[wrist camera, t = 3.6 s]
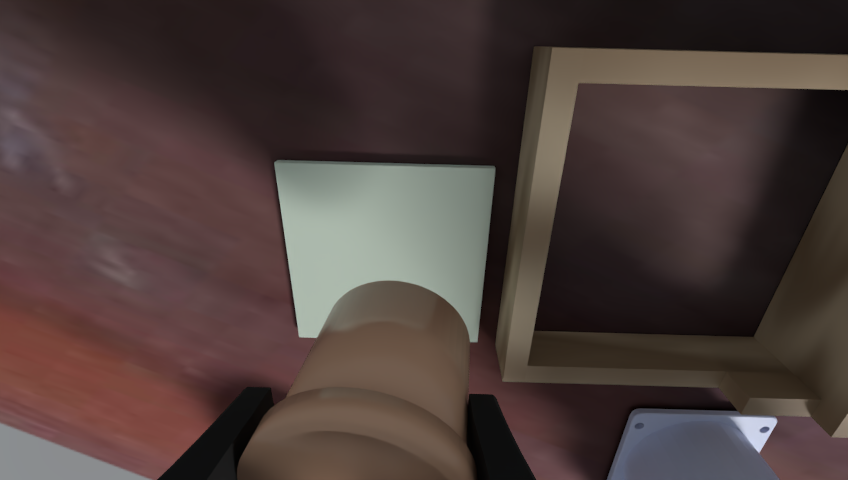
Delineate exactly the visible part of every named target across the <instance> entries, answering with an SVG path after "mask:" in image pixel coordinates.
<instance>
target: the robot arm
mask: <svg viewBox="0 0 848 480" xmlns="http://www.w3.org/2000/svg"><path fill="white" fill-rule="evenodd" d="M273 406H274V403H273V398H272V393H271V388H261V387H247V388H246V389H244V390H243V391H242V393H241V394H240V395H239V396H238V397H237V398H236V399H235V400H234V401H233V402H232V403H231V404H230V405H229V407H228V408H227V409H226V410H225V411H224V412H223V413H222V414H221V415H220V416H219V417H218V418H217V419H216V421H215V422H214V423H213V424H212V425H211V426H210V427H209V428H208V429H207V430H206V431H205V432H204V433H203V434H202V435H201V436H200V437H199V438H198V440H197V441H196V442H195V443H194V444H193V445H192V446H191V447H190V448H189V449H188V450H187V451H186V452H185V453H184V454H183V455H182V456H181V457H180V458H179V459H178V460H177V461H176V462H175V463H174V464H173V465H172V466H171V467H170V468H169V469H168V470H167V471H166V472H165V473H164V474H163V475H162V476H161V477H160V478H158V479H157V480H237V467H238V463H239V460H240V458H241V456H242V454H243V452H244V450H245V449H246V447H247V445H248V443H249V441H250V439H251V438H252V436H253V434H254V432H255V430H256V429H257V427H258V425H259V423H260V421H261V420H262V418H263V416H264V415H265V414H266V413H267V412H268V410H269V409H270V408H272V407H273ZM776 423H777V419H776V417H775V416H770V415H741V414H740V413H739V412H738V411H717V410H682V409H647V408H639V409H635V410H633V411H632V412H631V414H630V416H629V418H628V421H627V424H626V427H625V430H624V432H623V435H622V438H621V441H620V444H619V447H618V449H617V452H616V455H615V458H614V461H613V463H612V466H611V469H610V472H609V475H608V478H607V480H780V479H779V478H778V477H777V475H776V474H775V473H774V472H773V470H772V469H771V468H770V467H769V465H768V464H767V463H766V461H765V460H764V459H763V458H762V456H761V455H760V454H759V452H760V450H761V449H762V447H763V445H764V444H765V442H766V440H767V439H768V437H769V435H770V434H771V432H772V430H773V429H774V427H775V425H776ZM467 447H468V448H469V450H470V452H471V454H472V456H473V458H474V461H475V464H476V469H477V480H536V479H535V477H534V475H533V473H532V471H531V469H530V468H529V466H528V464H527V462H526V460H525V459H524V457H523V455H522V453H521V451H520V449H519V447H518V445H517V443H516V441H515V439H514V437H513V435H512V433H511V431H510V429H509V427H508V425H507V423H506V420H505V418H504V416H503V414H502V411H501V409H500V407H499V404H498V401H497V399H496V397H495V396H494V395H489V394H469V400H468V425H467Z"/></svg>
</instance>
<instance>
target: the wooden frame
mask: <svg viewBox="0 0 848 480" xmlns="http://www.w3.org/2000/svg"><path fill="white" fill-rule="evenodd" d="M578 83H600V84H638V85H676V86H714V87H752V88H790V89H828V90H848V54H814V53H776V52H738V51H699V50H661V49H623V48H584V47H546V46H534V50H533V58H532V65H531V73H530V81H529V88H528V96H527V104H526V111H525V119H524V127H523V135H522V142H521V150H520V158H519V165H518V173H517V181H516V188H515V196H514V204H513V211H512V219H511V227H510V234H509V242H508V250H507V257H506V265H505V273H504V280H503V288H502V296H501V304H500V311H499V319H498V327H497V334H496V342H495V347H496V352H497V357H498V361H499V366H500V371H501V376H502V380H503V382H534V383H569V384H604V385H639V386H675V387H710V388H719V389H720V390H721V391H722V392H723V394H724V395H725V396H726V397H727V398H728V400H729V401H730V402H731V403H732V404H733V406H734V407H735V408H736V409H737V411H738V412H739V413H740V414H741V415H770V416H805V417H812V418H813V419H814V420H815V421H816V422H817V423H818V424H819V425H820V426H821V427H822V428H823V429H824V430H825V431H826V432H827V433H828V434H829V435H830V436H831V437H843V438H848V145H847V147H846V149H845V151H844V153H843V155H842V157H841V159H840V161H839V163H838V165H837V167H836V169H835V171H834V173H833V175H832V177H831V180H830V182H829V184H828V186H827V188H826V190H825V192H824V194H823V196H822V198H821V200H820V202H819V204H818V206H817V208H816V210H815V212H814V214H813V216H812V218H811V220H810V222H809V225H808V227H807V229H806V231H805V233H804V235H803V237H802V239H801V241H800V243H799V245H798V247H797V249H796V251H795V253H794V255H793V257H792V259H791V261H790V263H789V265H788V267H787V269H786V272H785V274H784V276H783V278H782V280H781V282H780V284H779V286H778V288H777V290H776V292H775V294H774V296H773V298H772V300H771V302H770V304H769V306H768V308H767V310H766V312H765V314H764V317H763V319H762V321H761V323H760V325H759V327H758V329H757V331H756V333H755V335H754V337H738V336H702V335H667V334H631V333H595V332H559V331H534V326H535V320H536V315H537V309H538V304H539V298H540V293H541V287H542V282H543V276H544V271H545V265H546V260H547V254H548V249H549V243H550V238H551V232H552V226H553V221H554V215H555V210H556V204H557V199H558V193H559V188H560V182H561V177H562V171H563V166H564V160H565V155H566V149H567V144H568V138H569V133H570V127H571V121H572V116H573V110H574V105H575V99H576V94H577V88H578Z"/></svg>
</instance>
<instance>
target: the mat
mask: <svg viewBox="0 0 848 480" xmlns="http://www.w3.org/2000/svg"><path fill="white" fill-rule="evenodd" d="M274 166H275V173H276V180H277V186H278V193H279V200H280V207H281V214H282V221H283V228H284V235H285V242H286V249H287V256H288V263H289V270H290V276H291V283H292V290H293V297H294V304H295V311H296V318H297V325H298V332H299V337H310V338H317V336H318V335H319V333H320V331H321V329H322V327H323V325H324V323H325V321H326V319H327V317H328V315H329V313H330V312H331V310H332V308H333V306H334V305H335V303H336V302H337V301H338V300H339V299H340V298H341V297H342V296H343V295H344V294H345V293H347V292H348V291H350V290H352V289H354V288H356V287H358V286H360V285H363V284H366V283H370V282H376V281H387V280H390V281H402V282H408V283H412V284H415V285H419V286H421V287H424V288H426V289H429V290H431V291H433V292H434V293H436V294H438V295H439V296H441V297H442V298H444V299H445V300H446V301H447V302H449V303H450V304H451V305H452V306H453V307H454V308H455V309H456V310H457V312H458V313H459V314H460V316H461V317H462V319H463V320H464V323H465V325H466V327H467V330H468V333H469V338H470V342H477V341H478V332H479V322H480V313H481V303H482V294H483V284H484V274H485V265H486V255H487V246H488V236H489V227H490V217H491V208H492V198H493V189H494V179H495V169H496V168H495V166H482V165H445V164H408V163H370V162H333V161H296V160H277V161H276V162H274Z"/></svg>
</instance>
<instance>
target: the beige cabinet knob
mask: <svg viewBox="0 0 848 480" xmlns="http://www.w3.org/2000/svg"><path fill="white" fill-rule="evenodd" d="M469 360H470V338H469V333H468V330H467V327H466V325H465V323H464V320H463V319H462V317H461V316H460V314H459V313H458V312H457V310H456V309H455V308H454V307H453V306H452V305H451V304H450V303H449V302H447V301H446V300H445V299H444V298H442V297H441V296H439V295H438V294H436V293H434V292H433V291H431V290H429V289H426V288H424V287H421V286H419V285H415V284H412V283H408V282H402V281H390V280H387V281H376V282H370V283H366V284H363V285H360V286H358V287H356V288H354V289H352V290H350V291H348V292H347V293H345V294H344V295H343V296H342V297H341V298H340V299H339V300H338V301H337V302H336V303H335V305H334V306H333V308H332V310H331V312H330V313H329V315H328V317H327V319H326V321H325V323H324V325H323V327H322V329H321V331H320V333H319V335H318V336H317V338H316V340H315V342H314V344H313V346H312V348H311V350H310V352H309V354H308V356H307V358H306V360H305V361H304V363H303V365H302V367H301V369H300V371H299V373H298V375H297V377H296V379H295V381H294V383H293V384H292V386H291V388H290V390H289V392H288V394H287V396H286V398H285V399H283V400H282V401H280V402H278V403H277V404H275V405H274V406H273V407H272V408H270V409H269V410H268V412H267V413H266V414H265V415H264V416H263V418H262V420H261V421H260V423H259V425H258V427H257V429H256V430H255V432H254V434H253V436H252V438H251V439H250V441H249V443H248V445H247V447H246V449H245V450H244V452H243V454H242V456H241V458H240V460H239V463H238V467H237V480H477V469H476V464H475V461H474V458H473V456H472V454H471V452H470V450H469V448H468V447H467V425H468V392H469Z"/></svg>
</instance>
